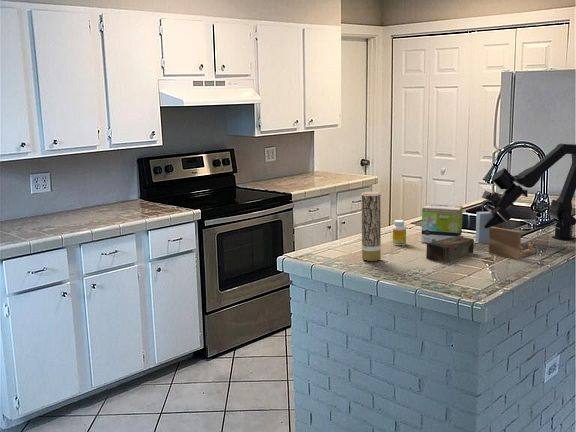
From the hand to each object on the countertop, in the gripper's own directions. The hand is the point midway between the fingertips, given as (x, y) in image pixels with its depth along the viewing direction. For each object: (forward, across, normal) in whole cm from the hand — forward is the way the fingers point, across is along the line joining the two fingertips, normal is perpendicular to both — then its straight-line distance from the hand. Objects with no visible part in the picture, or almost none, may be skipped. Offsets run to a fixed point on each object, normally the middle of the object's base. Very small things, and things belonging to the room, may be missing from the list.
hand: (480, 225), depth 246 cm
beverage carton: (+18, +19, -8) cm, 28 cm away
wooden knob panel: (+1, +19, +9) cm, 21 cm away
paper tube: (+39, +20, -29) cm, 52 cm away
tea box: (+16, -4, -5) cm, 17 cm away
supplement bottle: (+28, -2, -18) cm, 34 cm away
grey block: (+4, 0, +6) cm, 7 cm away
